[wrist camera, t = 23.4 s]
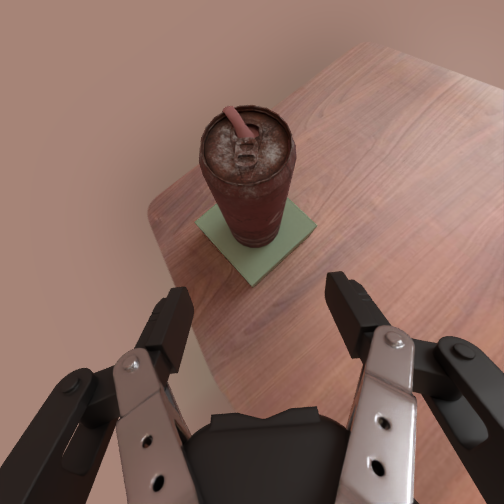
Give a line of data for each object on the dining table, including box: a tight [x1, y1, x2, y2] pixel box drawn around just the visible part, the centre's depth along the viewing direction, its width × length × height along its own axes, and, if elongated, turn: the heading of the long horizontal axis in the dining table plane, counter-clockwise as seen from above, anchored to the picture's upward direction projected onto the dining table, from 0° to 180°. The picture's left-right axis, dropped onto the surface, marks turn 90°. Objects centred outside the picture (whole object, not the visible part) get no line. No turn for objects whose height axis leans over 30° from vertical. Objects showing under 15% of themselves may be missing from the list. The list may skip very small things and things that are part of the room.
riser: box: [195, 197, 317, 288], centre depth 27 cm, size 11×11×4 cm
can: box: [199, 105, 296, 248], centre depth 18 cm, size 6×6×14 cm
